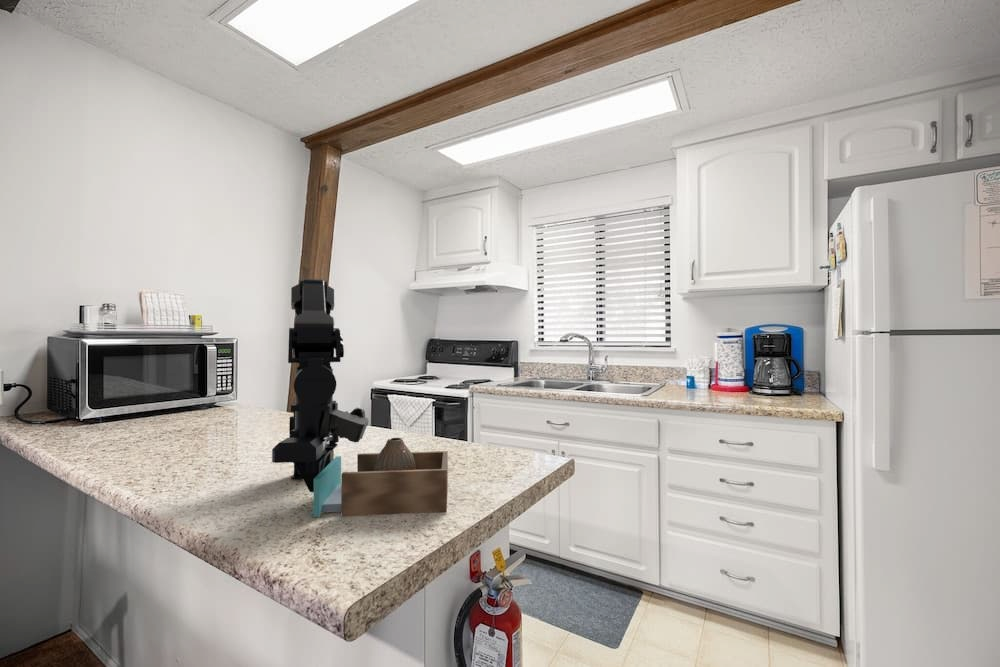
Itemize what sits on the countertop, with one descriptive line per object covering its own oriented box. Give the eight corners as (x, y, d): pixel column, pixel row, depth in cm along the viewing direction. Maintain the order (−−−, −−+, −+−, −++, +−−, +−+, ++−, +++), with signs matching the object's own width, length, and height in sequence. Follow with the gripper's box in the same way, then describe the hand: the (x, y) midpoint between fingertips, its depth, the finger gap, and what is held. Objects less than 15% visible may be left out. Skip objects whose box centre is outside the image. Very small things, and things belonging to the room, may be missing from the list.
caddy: (341, 516, 67) (341, 473, 67) (358, 489, 79) (358, 453, 79) (446, 511, 69) (446, 470, 69) (447, 486, 81) (447, 451, 81)
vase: (410, 498, 70) (410, 443, 70) (368, 498, 70) (368, 443, 71) (419, 484, 77) (419, 434, 77) (380, 484, 77) (380, 434, 77)
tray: (313, 517, 66) (313, 479, 66) (336, 488, 79) (336, 456, 79) (420, 512, 68) (420, 475, 68) (425, 484, 81) (425, 453, 81)
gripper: (350, 404, 64) (349, 511, 64) (374, 389, 83) (374, 472, 82) (270, 405, 63) (270, 514, 63) (313, 390, 82) (313, 474, 81)
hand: (313, 491), depth 72 cm, fingers closed
